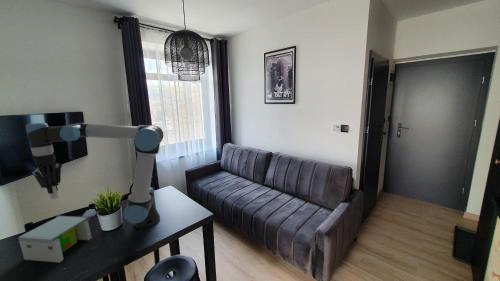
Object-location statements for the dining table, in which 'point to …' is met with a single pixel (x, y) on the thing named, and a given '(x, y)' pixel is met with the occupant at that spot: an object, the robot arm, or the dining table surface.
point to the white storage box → (52, 245)
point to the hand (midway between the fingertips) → (54, 198)
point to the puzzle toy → (67, 239)
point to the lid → (52, 229)
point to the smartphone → (89, 213)
